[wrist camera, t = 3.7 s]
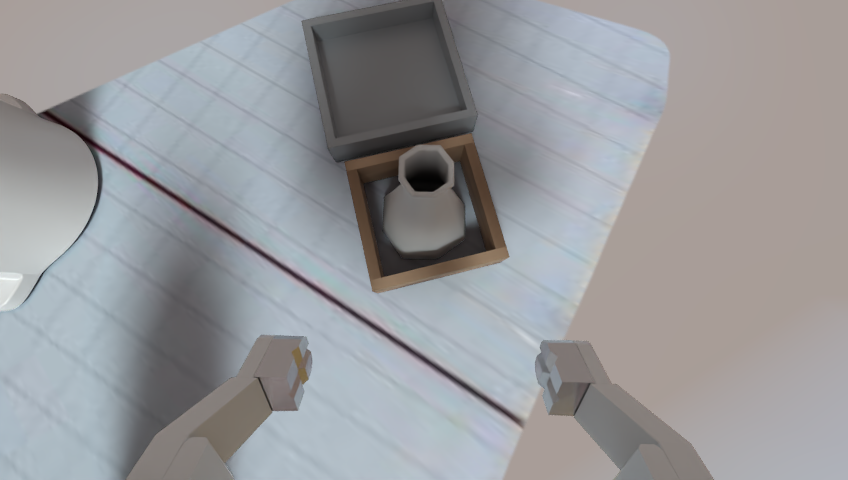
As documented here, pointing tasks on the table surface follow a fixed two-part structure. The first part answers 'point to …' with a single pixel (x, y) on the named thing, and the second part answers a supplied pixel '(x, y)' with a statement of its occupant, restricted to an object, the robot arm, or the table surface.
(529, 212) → the table surface
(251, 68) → the table surface
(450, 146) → the shaker holder
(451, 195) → the flask
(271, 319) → the table surface
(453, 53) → the tray
